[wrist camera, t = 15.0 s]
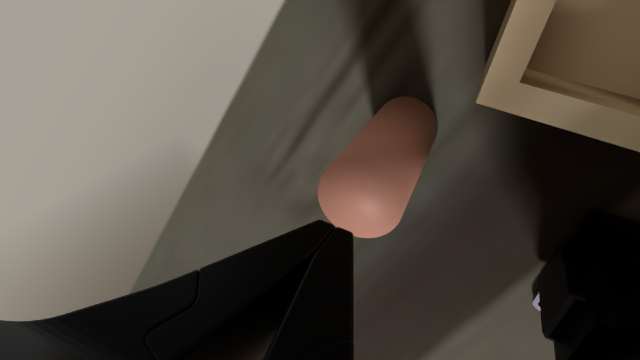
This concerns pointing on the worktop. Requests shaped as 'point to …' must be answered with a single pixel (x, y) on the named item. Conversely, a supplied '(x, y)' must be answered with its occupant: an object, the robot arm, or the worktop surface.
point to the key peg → (379, 169)
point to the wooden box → (569, 67)
